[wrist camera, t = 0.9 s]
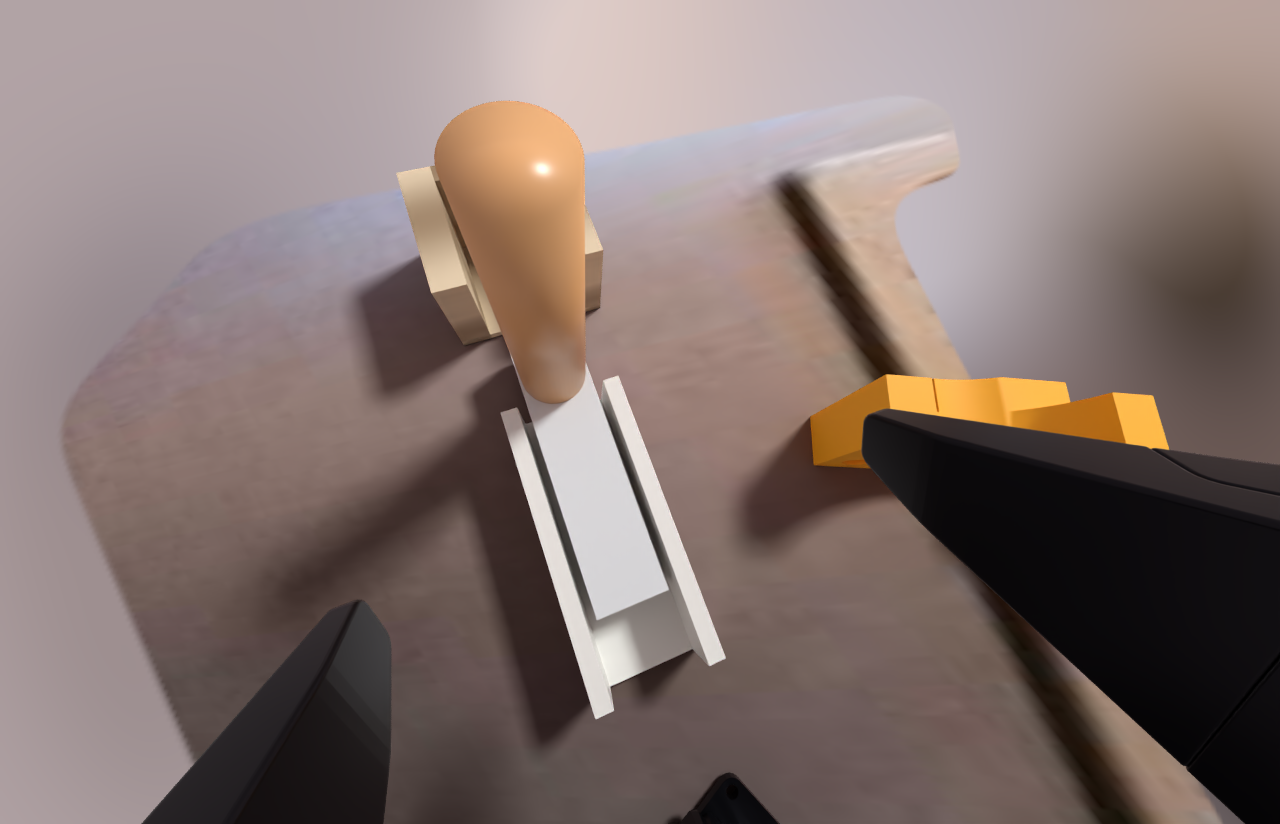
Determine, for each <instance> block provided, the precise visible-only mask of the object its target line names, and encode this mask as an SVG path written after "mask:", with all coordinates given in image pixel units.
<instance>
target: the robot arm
mask: <svg viewBox="0 0 1280 824" xmlns="http://www.w3.org/2000/svg"><path fill="white" fill-rule="evenodd" d="M861 452H862V456H863V459H864V460H865V462H866V463H867V465H868V466H869V467H870V468H871V469H872V470H873V471H874V472H875V474H876V475H877V476H878V477H879V478H880V479H881V480H882V481H883V482H884V484H885V485H886V486H887V487H888V488H889V489H890V490H891V491H892V492H893V494H894V495H895V496H896V497H897V498H898V499H899V500H900V501H901V502H902V504H903V505H904V506H905V507H906V508H907V509H908V510H909V511H910V512H911V513H912V515H913V516H914V517H915V518H916V519H917V520H918V521H919V522H920V523H921V524H922V525H923V526H924V527H925V528H926V529H927V530H928V531H929V532H930V533H931V534H932V535H934V536H935V537H936V538H937V539H938V540H939V541H940V542H941V543H942V544H943V545H944V546H945V547H946V548H948V549H949V550H950V551H951V552H952V553H953V554H954V555H955V556H956V557H957V558H958V559H959V560H961V561H962V562H963V563H964V564H965V565H966V566H967V567H968V568H969V569H970V570H971V571H972V572H974V573H975V574H976V575H977V576H978V577H979V578H980V579H981V580H982V581H983V582H984V583H985V584H987V585H988V586H989V587H990V588H991V589H992V590H993V591H994V592H995V593H996V594H997V595H998V596H1000V597H1001V598H1002V599H1003V600H1004V601H1005V602H1006V603H1007V604H1008V605H1009V606H1010V607H1011V608H1013V609H1014V610H1015V611H1016V612H1017V613H1018V614H1019V615H1020V616H1021V617H1022V618H1023V619H1024V620H1026V621H1027V622H1028V623H1029V624H1030V625H1031V626H1032V627H1033V628H1034V629H1035V630H1036V631H1037V632H1039V633H1040V634H1041V635H1042V636H1043V637H1044V638H1045V639H1046V640H1047V641H1048V642H1049V643H1050V644H1052V645H1053V646H1054V647H1055V648H1056V649H1057V650H1058V651H1059V652H1060V653H1061V654H1062V655H1063V656H1065V657H1066V658H1067V659H1068V660H1069V661H1070V662H1071V663H1072V664H1073V665H1074V666H1075V667H1076V668H1078V669H1079V670H1080V671H1081V672H1082V673H1083V674H1084V675H1085V676H1086V677H1087V678H1088V679H1089V680H1091V681H1092V682H1093V683H1094V684H1095V685H1096V686H1097V687H1098V688H1099V689H1100V690H1101V691H1102V692H1104V693H1105V694H1106V695H1107V696H1108V697H1109V698H1110V699H1111V700H1112V701H1113V702H1114V703H1115V704H1117V705H1118V706H1119V707H1120V708H1121V709H1122V710H1123V711H1124V712H1125V713H1126V714H1127V715H1128V716H1130V717H1131V718H1132V719H1133V720H1134V721H1135V722H1136V723H1137V724H1138V725H1139V726H1140V727H1141V728H1143V729H1144V730H1145V731H1146V732H1147V733H1148V734H1149V735H1150V736H1151V737H1152V738H1153V739H1154V740H1155V741H1157V742H1158V743H1159V744H1160V745H1161V746H1162V747H1163V748H1164V749H1165V750H1166V751H1167V752H1168V753H1170V754H1171V755H1172V756H1173V757H1174V758H1175V759H1176V760H1177V761H1178V762H1179V763H1180V764H1182V765H1183V766H1186V769H1187V771H1188V772H1190V773H1191V774H1192V775H1193V776H1194V777H1195V778H1196V779H1197V780H1198V781H1199V782H1200V783H1201V784H1203V785H1204V786H1205V787H1206V788H1207V789H1208V790H1209V791H1210V792H1211V793H1212V794H1213V795H1214V796H1216V797H1217V798H1218V799H1219V800H1220V801H1221V802H1222V803H1223V804H1224V805H1225V806H1226V807H1227V808H1228V809H1230V810H1231V811H1232V812H1233V813H1234V814H1235V815H1236V816H1237V817H1238V818H1240V820H1241V821H1243V822H1244V823H1245V824H1280V465H1278V464H1270V463H1261V462H1253V461H1245V460H1238V459H1231V458H1224V457H1216V456H1209V455H1202V454H1195V453H1187V452H1181V451H1174V450H1167V449H1161V448H1152V449H1150V448H1148V447H1146V446H1140V445H1133V444H1126V443H1119V442H1113V441H1106V440H1099V439H1092V438H1086V437H1079V436H1072V435H1065V434H1058V433H1052V432H1045V431H1038V430H1031V429H1025V428H1018V427H1011V426H1004V425H998V424H991V423H984V422H977V421H971V420H964V419H957V418H950V417H943V416H937V415H930V414H923V413H916V412H910V411H903V410H896V409H889V408H887V409H882V410H879V411H876V412H873V413H870V414H868V415H867V416H866V417H865V419H864V422H863V433H862V447H861ZM390 754H391V641H390V637H389V635H388V633H387V631H386V629H385V628H384V626H383V625H382V624H381V622H380V621H379V619H378V618H377V617H376V615H375V614H374V612H373V611H372V609H371V608H370V607H369V605H368V604H367V603H366V602H365V601H363V600H354V601H351V602H349V603H346V604H343V605H340V606H338V607H335V608H333V609H331V610H330V611H329V612H328V613H327V614H326V615H325V616H324V617H323V618H322V619H321V620H320V621H319V623H318V624H317V625H316V626H315V627H314V628H313V629H312V631H311V632H310V633H309V634H308V635H307V636H306V637H305V639H304V640H303V641H302V642H301V643H300V644H299V645H298V646H297V648H296V649H295V650H294V651H293V652H292V653H291V654H290V656H289V657H288V658H287V659H286V660H285V661H284V662H283V664H282V665H281V666H280V667H279V668H278V669H277V670H276V671H275V673H274V674H273V675H272V676H271V677H270V678H269V679H268V681H267V682H266V683H265V684H264V685H263V686H262V687H261V689H260V690H259V691H258V692H257V693H256V694H255V695H254V697H253V698H252V699H251V700H250V701H249V702H248V703H247V704H246V706H245V707H244V708H243V709H242V710H241V711H240V712H239V714H238V715H237V716H236V717H235V718H234V719H233V720H232V722H231V723H230V724H229V725H228V726H227V727H226V728H225V729H224V731H223V732H222V733H221V734H220V735H219V736H218V737H217V739H216V740H215V741H214V742H213V743H212V744H211V745H210V747H209V748H208V749H207V750H206V751H205V752H204V753H203V754H202V756H201V757H200V758H199V759H198V760H197V761H196V762H195V764H194V765H193V766H192V767H191V768H190V769H189V770H188V772H187V773H186V774H185V775H184V776H183V777H182V778H181V779H180V781H179V782H178V783H177V784H176V785H175V786H174V787H173V789H172V790H171V791H170V792H169V793H168V794H167V795H166V797H165V798H164V799H163V800H162V801H161V802H160V803H159V804H158V806H157V807H156V808H155V809H154V810H153V811H152V812H151V814H150V815H149V816H148V817H147V818H146V819H145V820H144V821H143V823H142V824H383V822H384V813H385V804H386V795H387V785H388V776H389V766H390ZM729 785H735V791H734V792H733V793H732V794H727V793H726V790H727V787H728V786H729ZM680 824H780V823H779V822H778V821H777V820H776V819H775V818H774V817H773V815H772V814H771V813H770V812H769V811H768V810H767V809H766V808H765V807H764V805H763V804H762V803H761V802H760V801H759V800H758V799H757V798H756V797H755V796H754V794H753V793H752V792H751V791H750V790H749V789H748V788H747V787H746V786H745V784H744V783H743V782H742V781H741V780H740V779H739V778H738V777H737V776H736V775H735V774H733V773H726V774H724V775H722V776H721V777H720V779H719V780H718V781H717V783H716V784H715V785H714V787H713V788H712V789H711V791H710V792H709V793H708V795H707V796H706V797H705V799H704V800H703V801H702V803H701V804H700V805H699V806H698V808H697V809H696V810H692V811H689V812H688V813H687V815H686V816H685V817H684V819H683V820H682V821H681V823H680Z"/></svg>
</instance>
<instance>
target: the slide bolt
mask: <svg viewBox="0 0 1280 824" xmlns="http://www.w3.org/2000/svg"><path fill="white" fill-rule="evenodd" d="M434 159H435V168H436V172H437V175H438V177H439V180H440V182H441V184H442V187H443V189H444V192H445V194H446V197H447V199H448V202H449V204H450V207H451V209H452V212H453V214H454V216H455V219H456V221H457V224H458V226H459V229H460V231H461V234H462V236H463V239H464V241H465V244H466V246H467V248H468V251H469V253H470V256H471V258H472V261H473V263H474V266H475V268H476V271H477V273H478V276H479V278H480V280H481V283H482V285H483V288H484V290H485V293H486V295H487V298H488V300H489V303H490V305H491V308H492V310H493V312H494V315H495V317H496V320H497V322H498V325H499V327H500V330H501V332H502V335H503V337H504V340H505V342H506V344H507V347H508V349H509V352H510V355H511V358H512V361H513V364H514V367H515V370H516V373H517V376H518V380H519V383H520V386H521V389H522V392H523V395H524V398H525V401H526V404H527V407H528V410H529V413H530V416H531V419H532V423H533V426H534V429H535V432H536V435H537V438H538V441H539V444H540V447H541V450H542V453H543V456H544V459H545V462H546V465H547V469H548V472H549V475H550V478H551V481H552V484H553V487H554V490H555V493H556V496H557V499H558V502H559V505H560V508H561V512H562V515H563V518H564V521H565V524H566V527H567V530H568V533H569V536H570V539H571V542H572V545H573V548H574V551H575V555H576V558H577V561H578V564H579V567H580V570H581V573H582V576H583V579H584V582H585V585H586V588H587V591H588V594H589V598H590V601H591V604H592V607H593V610H594V613H595V616H596V619H597V620H599V619H601V618H604V617H606V616H608V615H611V614H613V613H616V612H618V611H620V610H623V609H625V608H627V607H630V606H632V605H634V604H637V603H639V602H641V601H644V600H646V599H649V598H651V597H653V596H656V595H658V594H660V593H663V592H665V591H667V590H669V589H668V586H667V583H666V580H665V578H664V575H663V572H662V569H661V567H660V564H659V561H658V559H657V556H656V553H655V550H654V548H653V545H652V542H651V539H650V537H649V534H648V531H647V528H646V526H645V523H644V520H643V518H642V515H641V512H640V509H639V507H638V504H637V501H636V498H635V496H634V493H633V490H632V487H631V485H630V482H629V479H628V477H627V474H626V471H625V468H624V466H623V463H622V460H621V457H620V455H619V452H618V449H617V446H616V444H615V441H614V438H613V436H612V433H611V430H610V427H609V425H608V422H607V419H606V416H605V414H604V411H603V408H602V405H601V403H600V400H599V397H598V395H597V392H596V389H595V386H594V384H593V381H592V378H591V375H590V373H589V370H588V367H587V364H586V362H585V174H584V153H583V149H582V146H581V143H580V141H579V139H578V137H577V136H576V134H575V133H574V131H573V130H572V129H571V128H570V126H569V125H568V124H566V122H564V121H563V120H562V119H561V118H560V117H558V116H557V115H555V114H553V113H552V112H550V111H548V110H546V109H544V108H541V107H539V106H536V105H532V104H529V103H524V102H518V101H496V102H490V103H485V104H481V105H478V106H475V107H473V108H470V109H469V110H466V111H464V112H463V113H461V114H460V115H458V116H457V117H455V118H454V119H453V120H452V121H451V122H450V123H449V124H448V125H447V126H446V127H445V129H444V130H443V132H442V133H441V135H440V137H439V139H438V141H437V144H436V148H435V155H434Z"/></svg>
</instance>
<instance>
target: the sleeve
mask: <svg viewBox="0 0 1280 824" xmlns="http://www.w3.org/2000/svg"><path fill="white" fill-rule="evenodd" d="M600 403H601V405H602V408H603V411H604V414H605V416H606V419H607V422H608V425H609V427H610V430H611V433H612V436H613V438H614V441H615V444H616V446H617V449H618V452H619V455H620V457H621V460H622V463H623V466H624V468H625V471H626V474H627V477H628V479H629V482H630V485H631V487H632V490H633V493H634V496H635V498H636V501H637V504H638V507H639V509H640V512H641V515H642V518H643V520H644V523H645V526H646V528H647V531H648V534H649V537H650V539H651V542H652V545H653V548H654V550H655V553H656V556H657V559H658V561H659V564H660V567H661V569H662V572H663V575H664V578H665V580H666V583H667V586H668V589H669V590H667V591H665V592H663V593H660V594H658V595H656V596H653V597H651V598H649V599H646V600H644V601H641V602H639V603H637V604H634V605H632V606H630V607H627V608H625V609H623V610H620V611H618V612H616V613H613V614H611V615H608V616H606V617H604V618H601V619H599V620H597V619H596V616H595V613H594V610H593V607H592V604H591V601H590V598H589V594H588V591H587V588H586V585H585V582H584V579H583V576H582V573H581V570H580V567H579V564H578V561H577V558H576V555H575V551H574V548H573V545H572V542H571V539H570V536H569V533H568V530H567V527H566V524H565V521H564V518H563V515H562V512H561V508H560V505H559V502H558V499H557V496H556V493H555V490H554V487H553V484H552V481H551V478H550V475H549V472H548V469H547V465H546V462H545V459H544V456H543V453H542V450H541V447H540V444H539V441H538V438H537V435H536V432H535V429H534V426H533V423H532V422H530V423H527V424H525V422H524V420H523V418H522V416H521V414H520V412H519V410H518V408H513V409H510V410H507V411H504V412H501V416H502V419H503V423H504V426H505V429H506V432H507V436H508V439H509V442H510V445H511V448H512V452H513V455H514V458H515V461H516V465H517V468H518V471H519V474H520V477H521V481H522V484H523V487H524V490H525V494H526V497H527V500H528V503H529V506H530V510H531V513H532V516H533V519H534V523H535V526H536V529H537V532H538V535H539V539H540V542H541V545H542V548H543V552H544V555H545V558H546V561H547V564H548V568H549V571H550V574H551V577H552V581H553V584H554V587H555V590H556V593H557V597H558V600H559V603H560V606H561V610H562V613H563V616H564V619H565V622H566V626H567V629H568V632H569V635H570V639H571V642H572V645H573V648H574V651H575V655H576V658H577V661H578V664H579V668H580V671H581V674H582V677H583V680H584V684H585V687H586V690H587V693H588V697H589V700H590V703H591V706H592V709H593V713H594V716H595V719H598V718H600V717H602V716H604V715H606V714H608V713H610V712H613V711H614V707H613V701H612V695H611V689H610V687H611V686H613V685H615V684H617V683H619V682H622V681H624V680H626V679H628V678H630V677H632V676H635V675H637V674H639V673H641V672H643V671H646V670H648V669H650V668H652V667H654V666H657V665H659V664H661V663H663V662H665V661H667V660H670V659H672V658H674V657H676V656H678V655H681V654H683V653H685V652H687V651H689V650H691V649H693V650H694V651H695V652H696V653H697V654H698V655H699V656H700V657H701V658H702V659H703V660H704V661H705V662H706V663H707V664H708V665H709V666H710V665H713V664H715V663H717V662H719V661H721V660H723V659H725V658H726V657H725V655H724V652H723V650H722V647H721V644H720V642H719V639H718V636H717V634H716V631H715V629H714V626H713V623H712V621H711V618H710V615H709V613H708V610H707V608H706V605H705V602H704V600H703V597H702V594H701V592H700V589H699V587H698V584H697V581H696V579H695V576H694V573H693V571H692V568H691V566H690V563H689V560H688V558H687V555H686V552H685V550H684V547H683V545H682V542H681V539H680V537H679V534H678V531H677V529H676V526H675V524H674V521H673V518H672V516H671V513H670V510H669V508H668V505H667V503H666V500H665V497H664V495H663V492H662V489H661V487H660V484H659V482H658V479H657V476H656V474H655V471H654V468H653V466H652V463H651V461H650V458H649V455H648V453H647V450H646V447H645V445H644V442H643V440H642V437H641V434H640V432H639V429H638V426H637V424H636V421H635V419H634V416H633V413H632V411H631V408H630V405H629V403H628V400H627V398H626V395H625V392H624V390H623V387H622V384H621V382H620V379H619V377H618V376H616V377H613V378H609V379H606V380H603V386H602V395H601V400H600Z"/></svg>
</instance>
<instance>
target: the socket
mask: <svg viewBox="0 0 1280 824" xmlns="http://www.w3.org/2000/svg"><path fill="white" fill-rule="evenodd" d="M396 174H397V177H398V181H399V184H400V188H401V191H402V194H403V198H404V201H405V205H406V208H407V212H408V215H409V218H410V222H411V225H412V229H413V232H414V235H415V239H416V242H417V246H418V249H419V253H420V256H421V259H422V263H423V266H424V270H425V273H426V277H427V280H428V283H429V287H430V290H431V293H432V295H433V297H434V298H435V300H436V301H437V303H438V305H439V306H440V308H441V309H442V311H443V313H444V314H445V316H446V317H447V319H448V321H449V322H450V324H451V325H452V327H453V329H454V330H455V332H456V333H457V335H458V337H459V338H460V340H461V341H462V343H463V345H468V344H472V343H475V342H479V341H482V340H486V339H490V338H493V337H497V336H500V335H502V332H501V330H500V327H499V325H498V322H497V320H496V317H495V315H494V312H493V310H492V308H491V305H490V303H489V300H488V298H487V295H486V293H485V290H484V288H483V285H482V283H481V280H480V278H479V276H478V273H477V271H476V268H475V266H474V263H473V261H472V258H471V256H470V253H469V251H468V248H467V246H466V244H465V241H464V239H463V236H462V234H461V231H460V229H459V226H458V224H457V221H456V219H455V216H454V214H453V212H452V209H451V207H450V204H449V202H448V199H447V197H446V194H445V192H444V189H443V187H442V184H441V182H440V180H439V177H438V175H437V172H436V168H435V166H430V167H425V168H420V169H414V170H410V171H405V172H400V173H396ZM602 262H603V248H602V246H601V243H600V241H599V238H598V236H597V233H596V231H595V228H594V226H593V223H592V221H591V218H590V216H589V213H588V211H587V208H586V206H585V312H587V311H590V310H594V309H597V308H600V297H601V279H602Z"/></svg>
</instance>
